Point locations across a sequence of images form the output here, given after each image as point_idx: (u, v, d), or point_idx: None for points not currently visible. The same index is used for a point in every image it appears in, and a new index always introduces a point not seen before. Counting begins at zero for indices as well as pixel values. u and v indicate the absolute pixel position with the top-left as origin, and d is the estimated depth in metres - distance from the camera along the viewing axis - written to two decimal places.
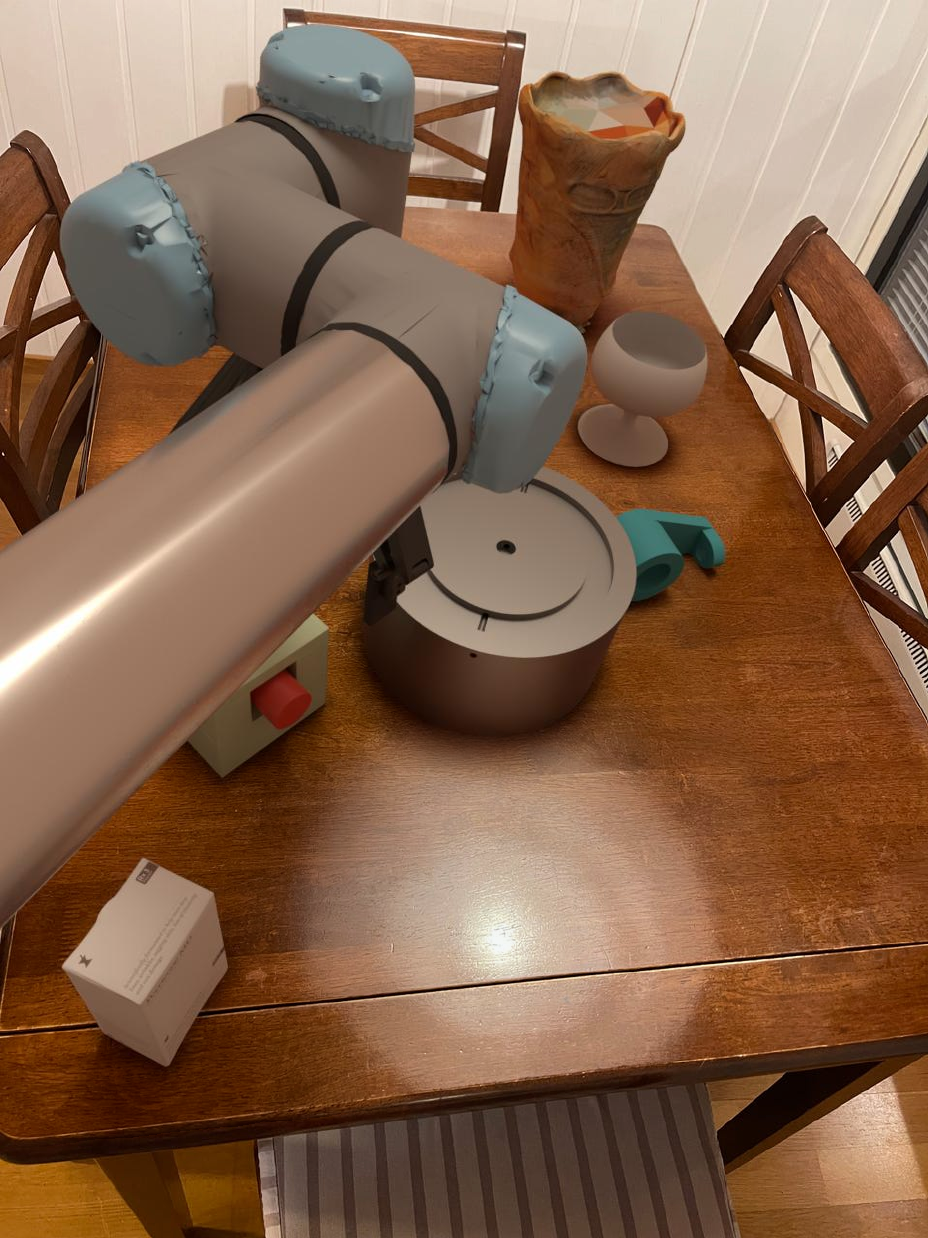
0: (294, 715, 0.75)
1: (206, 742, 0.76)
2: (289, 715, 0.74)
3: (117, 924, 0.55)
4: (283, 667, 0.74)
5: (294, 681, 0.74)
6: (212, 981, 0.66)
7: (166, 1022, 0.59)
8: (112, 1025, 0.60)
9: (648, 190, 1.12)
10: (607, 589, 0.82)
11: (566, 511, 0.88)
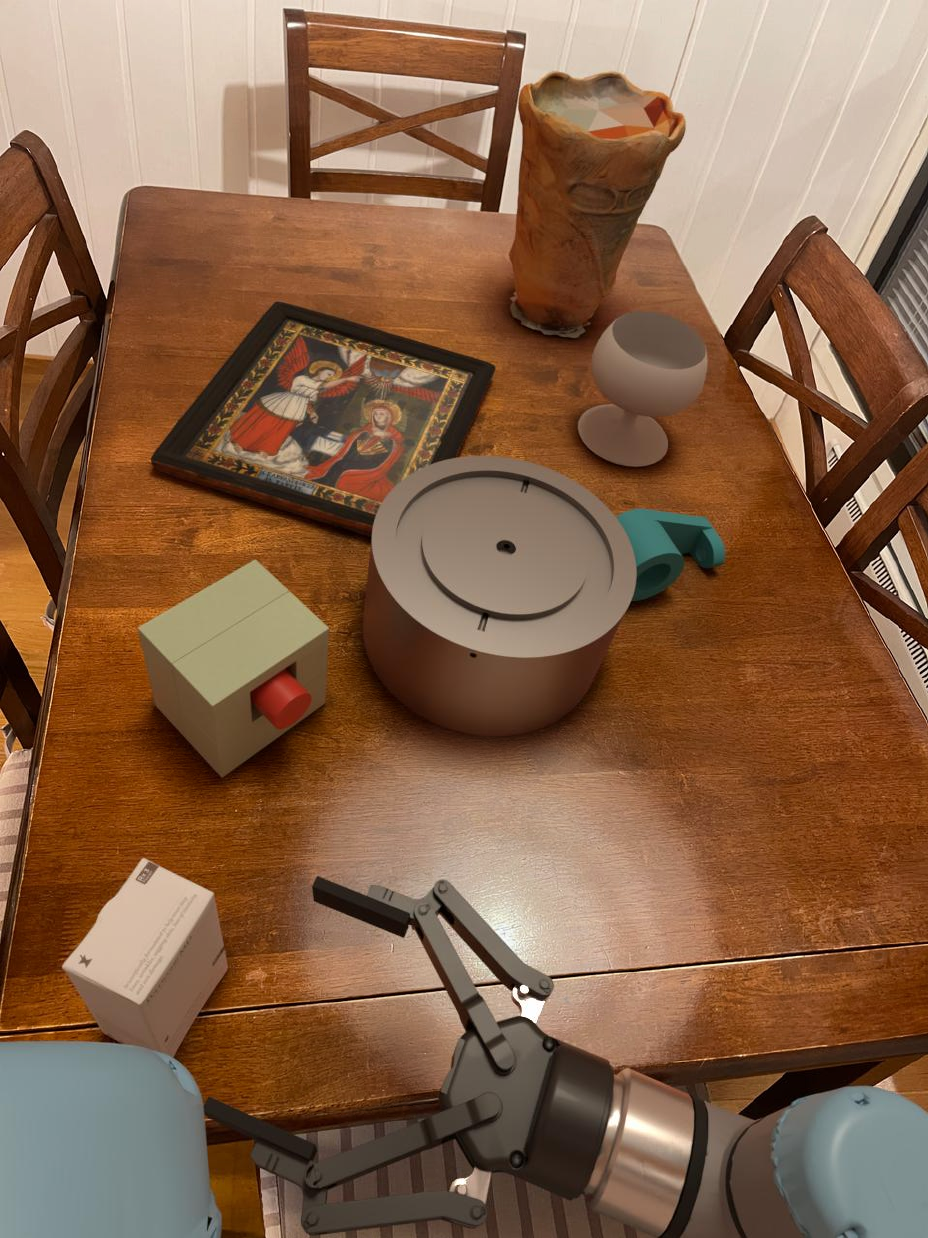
0: (294, 715, 0.75)
1: (206, 742, 0.76)
2: (289, 715, 0.74)
3: (117, 924, 0.55)
4: (283, 667, 0.74)
5: (294, 681, 0.74)
6: (212, 981, 0.66)
7: (166, 1022, 0.59)
8: (112, 1025, 0.60)
9: (648, 190, 1.12)
10: (607, 589, 0.82)
11: (566, 511, 0.88)
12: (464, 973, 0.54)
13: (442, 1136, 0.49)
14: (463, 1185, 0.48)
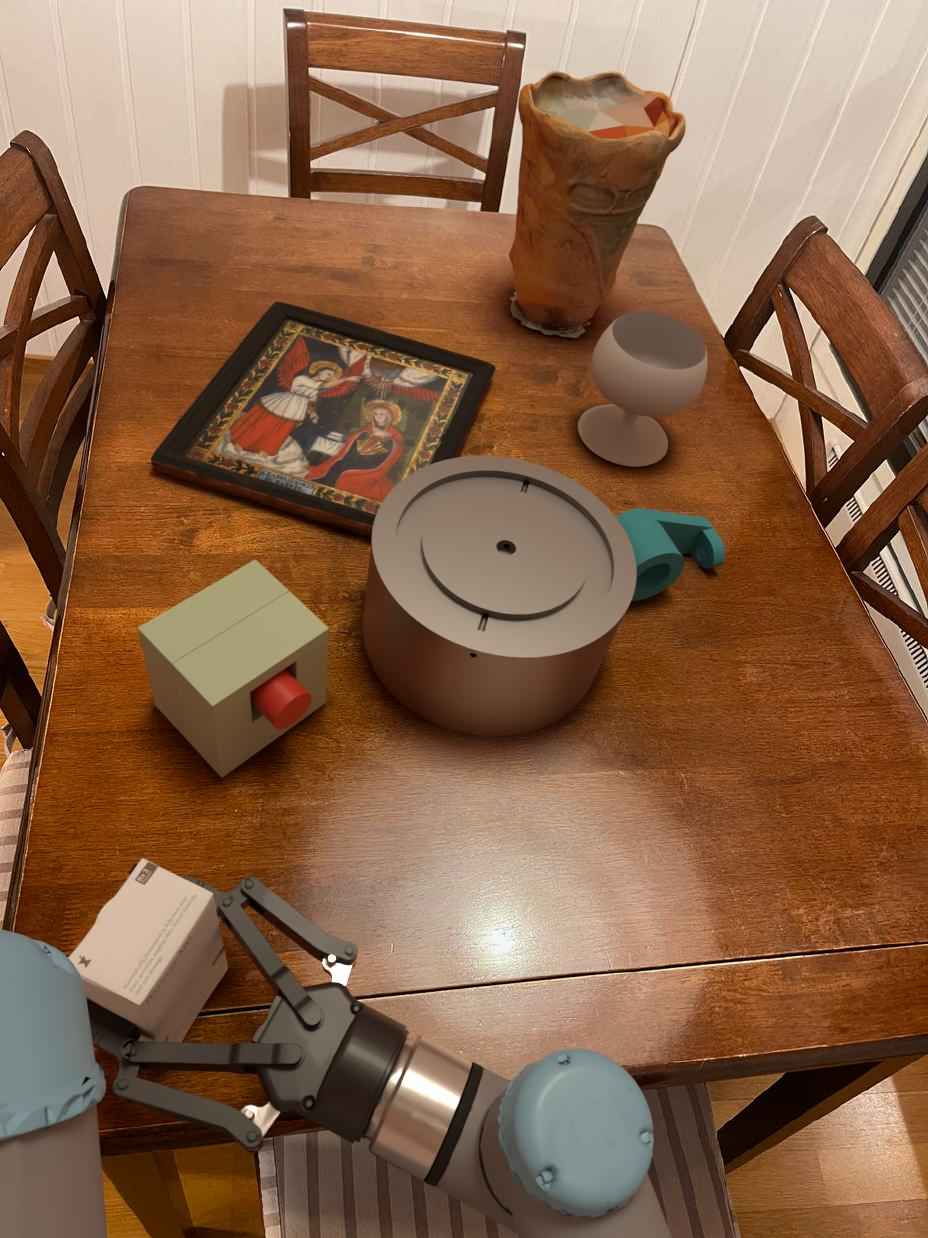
0: (294, 715, 0.75)
1: (206, 742, 0.76)
2: (289, 715, 0.74)
3: (116, 925, 0.55)
4: (283, 667, 0.74)
5: (294, 681, 0.74)
6: (212, 981, 0.66)
7: (166, 1022, 0.59)
8: None
9: (648, 190, 1.12)
10: (607, 589, 0.82)
11: (566, 511, 0.88)
12: (270, 950, 0.61)
13: (242, 1062, 0.56)
14: (251, 1110, 0.55)
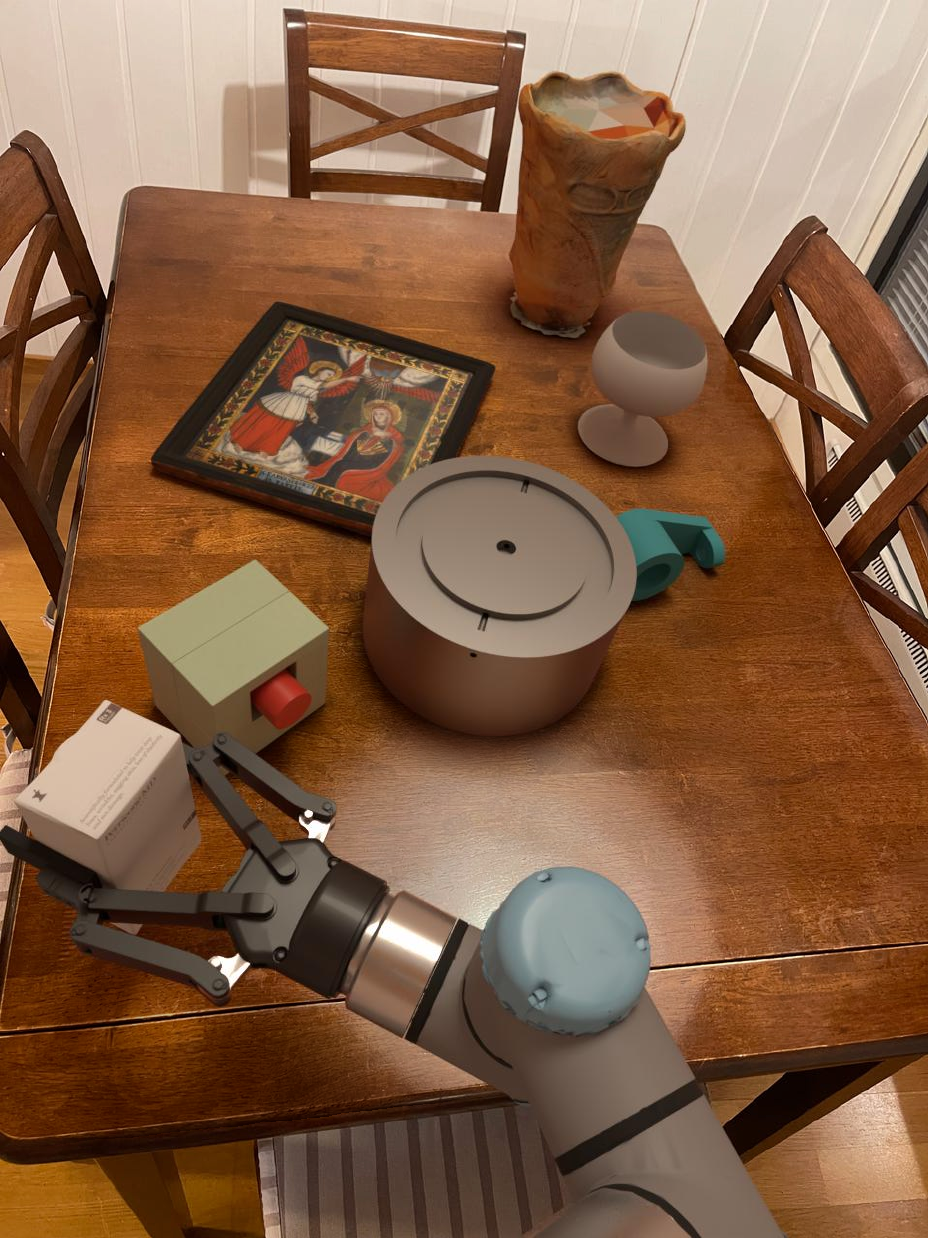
0: (294, 715, 0.75)
1: (206, 742, 0.76)
2: (289, 715, 0.74)
3: (75, 761, 0.52)
4: (283, 667, 0.74)
5: (294, 681, 0.74)
6: (184, 849, 0.62)
7: (130, 876, 0.55)
8: None
9: (648, 190, 1.12)
10: (607, 589, 0.82)
11: (566, 511, 0.88)
12: (243, 804, 0.57)
13: (210, 910, 0.52)
14: (218, 959, 0.51)
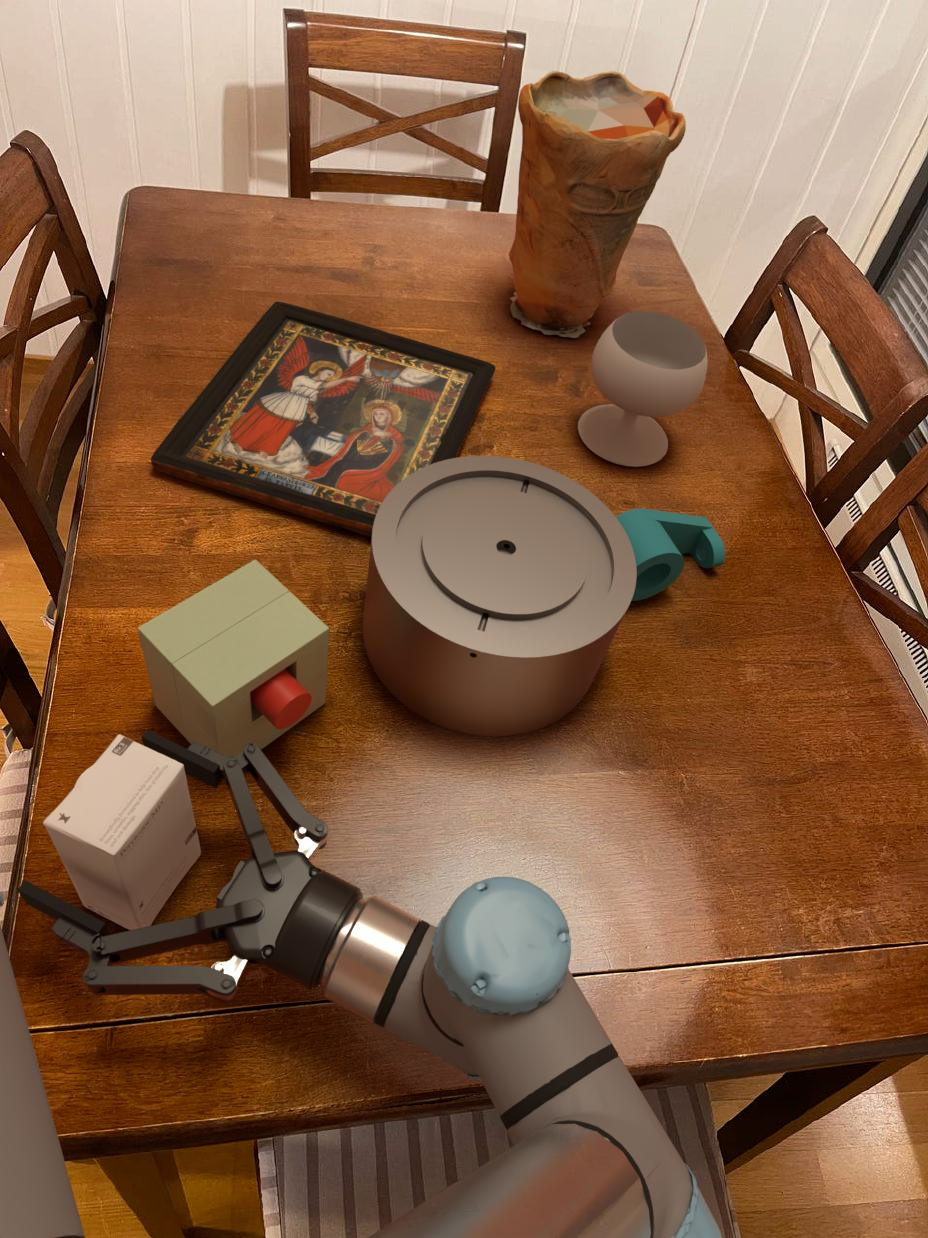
0: (294, 715, 0.75)
1: (206, 742, 0.76)
2: (289, 715, 0.74)
3: (94, 788, 0.61)
4: (283, 667, 0.74)
5: (294, 681, 0.74)
6: (185, 861, 0.71)
7: (140, 886, 0.64)
8: (91, 891, 0.66)
9: (648, 190, 1.12)
10: (607, 589, 0.82)
11: (566, 511, 0.88)
12: (255, 813, 0.66)
13: (209, 926, 0.60)
14: (220, 964, 0.59)
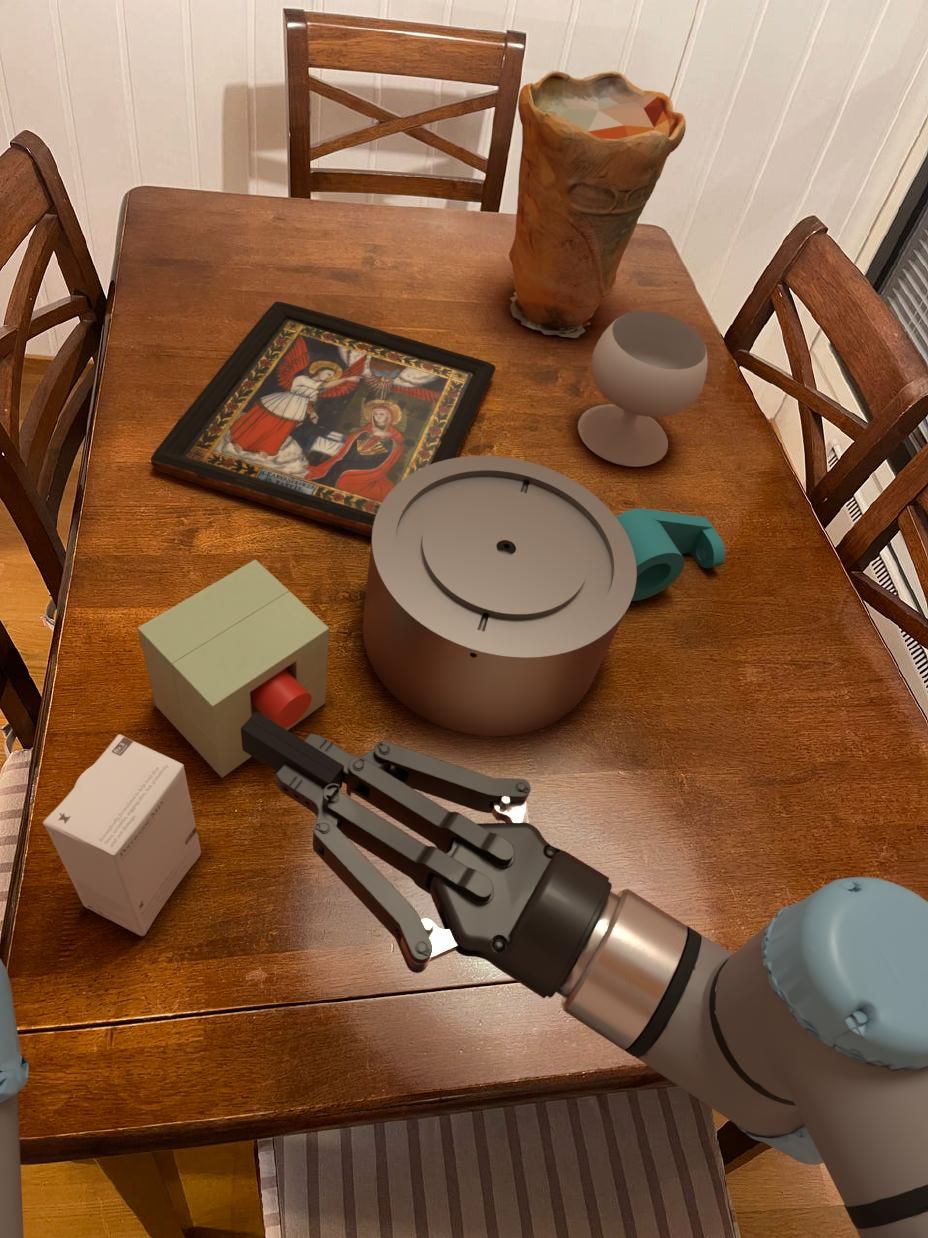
0: (294, 715, 0.75)
1: (206, 742, 0.76)
2: (289, 715, 0.74)
3: (94, 788, 0.61)
4: (283, 667, 0.74)
5: (294, 681, 0.74)
6: (185, 861, 0.71)
7: (140, 886, 0.64)
8: (91, 891, 0.66)
9: (648, 190, 1.12)
10: (607, 589, 0.82)
11: (566, 511, 0.88)
12: (427, 801, 0.52)
13: (430, 866, 0.49)
14: (431, 923, 0.48)
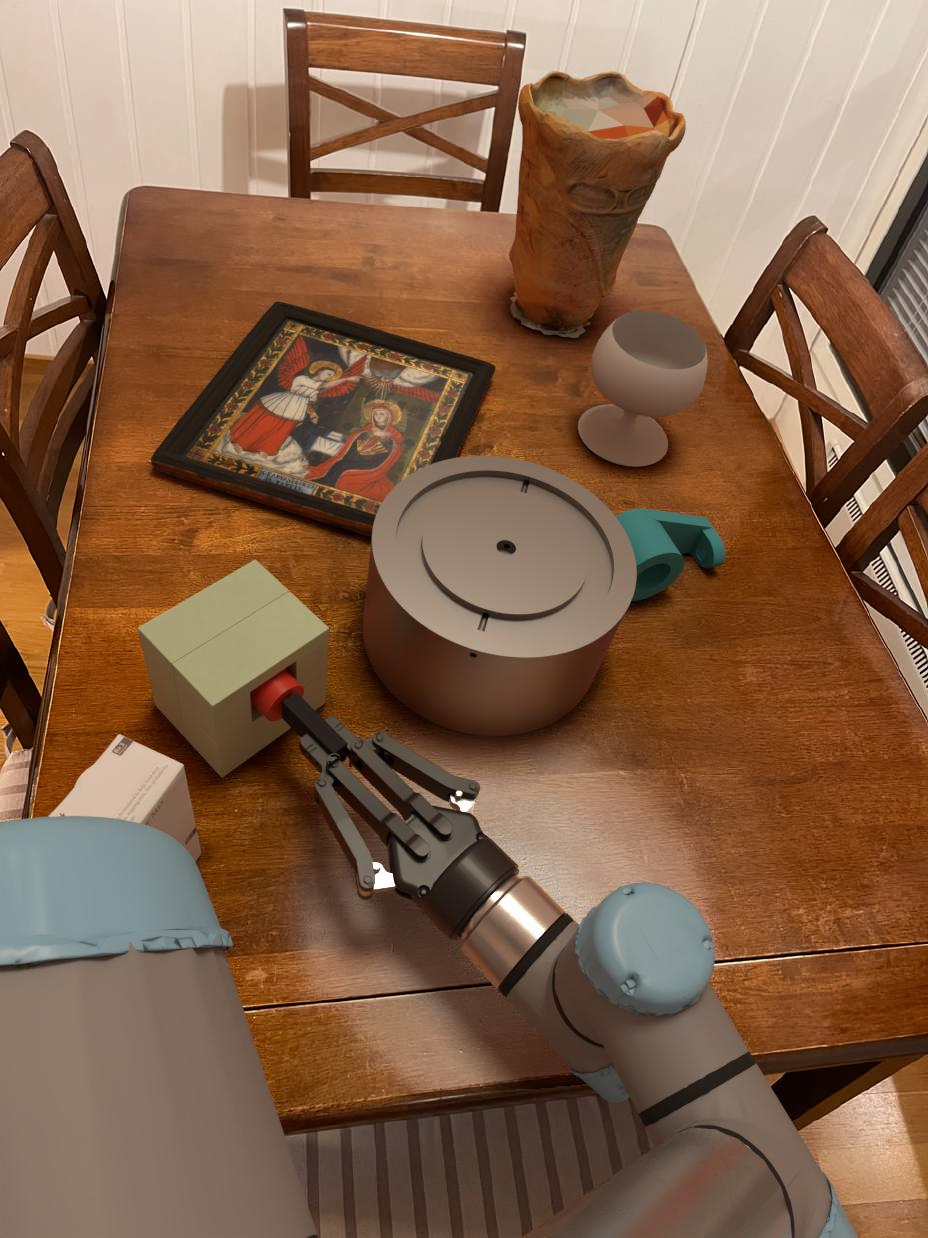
0: None
1: (206, 742, 0.76)
2: None
3: (94, 788, 0.61)
4: (283, 667, 0.74)
5: (286, 674, 0.75)
6: None
7: None
8: None
9: (648, 190, 1.12)
10: (607, 589, 0.82)
11: (566, 511, 0.88)
12: (400, 781, 0.71)
13: (389, 826, 0.68)
14: (379, 865, 0.66)
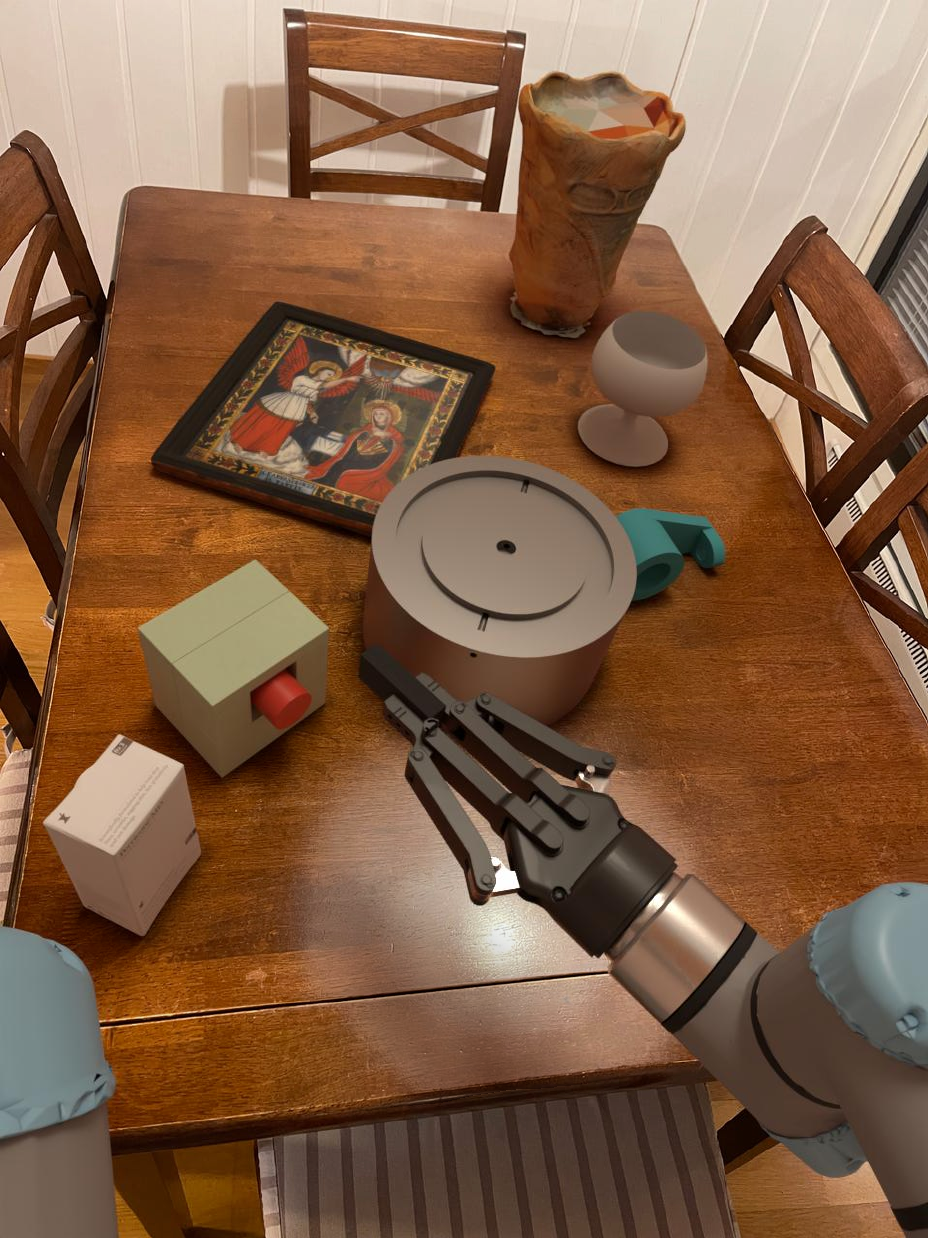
0: (294, 715, 0.75)
1: (206, 742, 0.76)
2: (289, 715, 0.74)
3: (94, 788, 0.61)
4: (283, 667, 0.74)
5: (294, 681, 0.74)
6: (185, 861, 0.71)
7: (140, 886, 0.64)
8: (91, 891, 0.66)
9: (648, 190, 1.12)
10: (607, 589, 0.82)
11: (566, 511, 0.88)
12: (516, 753, 0.55)
13: (508, 810, 0.52)
14: (499, 861, 0.51)
